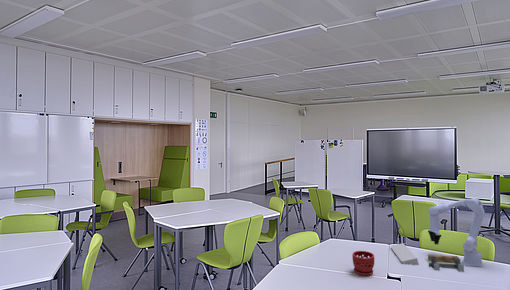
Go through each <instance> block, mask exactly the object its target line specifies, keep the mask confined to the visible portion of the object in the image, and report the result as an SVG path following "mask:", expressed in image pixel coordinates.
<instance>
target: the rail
mask: <svg viewBox="0 0 510 290" xmlns="http://www.w3.org/2000/svg"><path fill="white" fill-rule="evenodd" d="M427 256H428V257H427V259H428V260H429V261H430V262H431V257H433V258H437V262H445V263H455V259H460V257H459V256H458V255H443V254H442V255H441V254H440V255H439V254H437V255H436V254H427Z"/></svg>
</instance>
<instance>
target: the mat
mask: <svg viewBox="0 0 510 290" xmlns="http://www.w3.org/2000/svg"><path fill="white" fill-rule="evenodd" d="M424 259H425V261H427V262H428V264H429V263H431V262H430V261H429V260H428V258H424ZM437 263H442V264H455V263H445V262H437Z"/></svg>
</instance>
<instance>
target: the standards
mask: <svg viewBox="0 0 510 290" xmlns="http://www.w3.org/2000/svg"><path fill="white" fill-rule="evenodd" d="M428 267H429V268H432V269H433V270H434V271H440V267H442V268H443V269H446V268H447V269H455V270H456V271H458V272H460V271H462V272H461V273H463V272H465V264H464V263H462V259H460V258H459V259H455V264H442V263H437V258H433V257H431V263H429V262H428Z"/></svg>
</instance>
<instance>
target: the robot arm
mask: <svg viewBox="0 0 510 290" xmlns="http://www.w3.org/2000/svg"><path fill="white" fill-rule="evenodd" d="M457 207H464V208H466V207H467V208H468V209H469V210H471V211H472V212H473V214H474V218H473V220H472V224H471V226H470V229H469V233H468V236H467V237H466V241H464V242H463V243H462V244H463V245H462V248H463V260H461V263H462V264H464V266H466V265H467V267H480V266H482V267H483V261H482V257H483V256H482V253H481V251H478V250H477V248H478V236H479V234H480V230H481V227H482V223H483V222H484V218H485V214H486V213H485V210H484V206H483V203H482V201H481V200H480V199H479V198H478V197H471V198H464V199H460V200H457V201H454V202H451V203H446V202H442V203H441V204H438V205H437V204H435V205H434V206H432V207H429V208H428V211H427V212H428V214H429V228H428V229H427V232H428V235H429V237H430V241H431V242H433V243H434V245H439V243H440V239H441V237H442V234H440V221H439V220H440V218H439V217H440V216H439V214H443V213H448V212H450V211H451V209H453V208H457Z"/></svg>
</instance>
